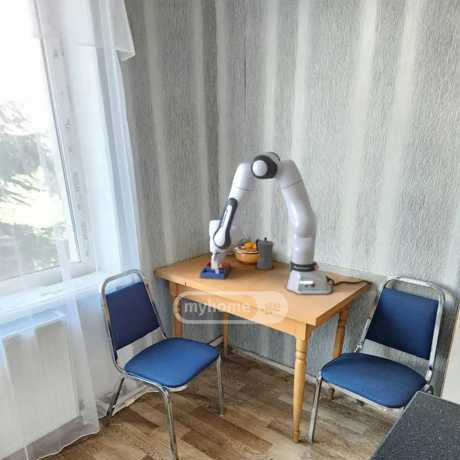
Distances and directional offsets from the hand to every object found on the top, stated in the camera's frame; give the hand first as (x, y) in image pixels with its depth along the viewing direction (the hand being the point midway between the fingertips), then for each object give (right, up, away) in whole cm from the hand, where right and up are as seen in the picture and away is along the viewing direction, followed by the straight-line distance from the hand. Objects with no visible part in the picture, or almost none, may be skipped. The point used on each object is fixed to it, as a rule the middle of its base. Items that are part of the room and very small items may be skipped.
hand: (218, 272), depth 219 cm
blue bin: (-3, -2, +1) cm, 4 cm away
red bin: (-1, +3, +11) cm, 12 cm away
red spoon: (-1, +3, +11) cm, 12 cm away
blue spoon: (-3, -2, +1) cm, 4 cm away
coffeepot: (+26, +4, +15) cm, 30 cm away
